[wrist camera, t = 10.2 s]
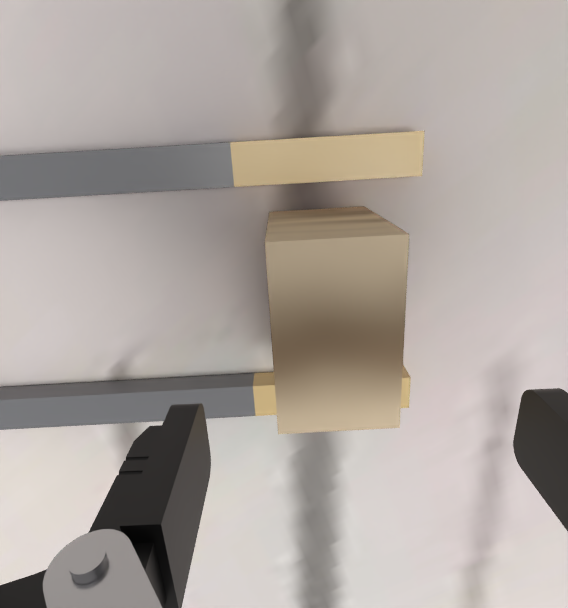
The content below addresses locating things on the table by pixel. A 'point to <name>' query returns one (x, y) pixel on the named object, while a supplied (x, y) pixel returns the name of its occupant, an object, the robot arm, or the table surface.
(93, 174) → the rail bay
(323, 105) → the table surface
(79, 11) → the table surface
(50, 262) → the table surface
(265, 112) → the table surface
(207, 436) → the robot arm
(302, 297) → the wooden block
